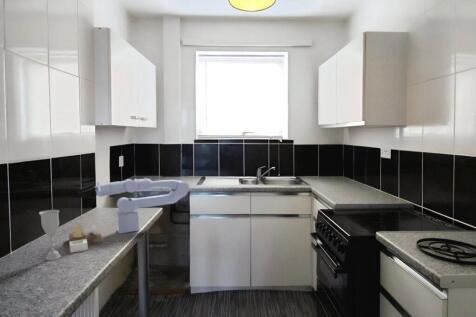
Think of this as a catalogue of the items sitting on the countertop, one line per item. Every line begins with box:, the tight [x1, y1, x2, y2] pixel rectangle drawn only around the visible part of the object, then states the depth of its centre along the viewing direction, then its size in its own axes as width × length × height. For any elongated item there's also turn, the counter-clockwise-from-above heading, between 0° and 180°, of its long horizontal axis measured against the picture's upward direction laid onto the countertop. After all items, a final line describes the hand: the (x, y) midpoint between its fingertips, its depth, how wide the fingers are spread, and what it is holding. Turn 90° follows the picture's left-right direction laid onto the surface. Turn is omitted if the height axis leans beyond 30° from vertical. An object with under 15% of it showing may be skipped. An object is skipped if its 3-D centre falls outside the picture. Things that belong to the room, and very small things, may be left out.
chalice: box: [38, 209, 62, 261], centre depth 139 cm, size 7×7×18 cm
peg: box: [73, 225, 85, 238], centre depth 157 cm, size 5×5×7 cm
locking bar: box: [83, 224, 98, 235], centre depth 162 cm, size 5×11×2 cm, turn 26°
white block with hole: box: [69, 239, 89, 253], centre depth 149 cm, size 6×6×3 cm
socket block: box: [68, 228, 102, 246], centre depth 160 cm, size 12×13×3 cm
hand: (78, 193), depth 164 cm, fingers open, 7 cm apart
